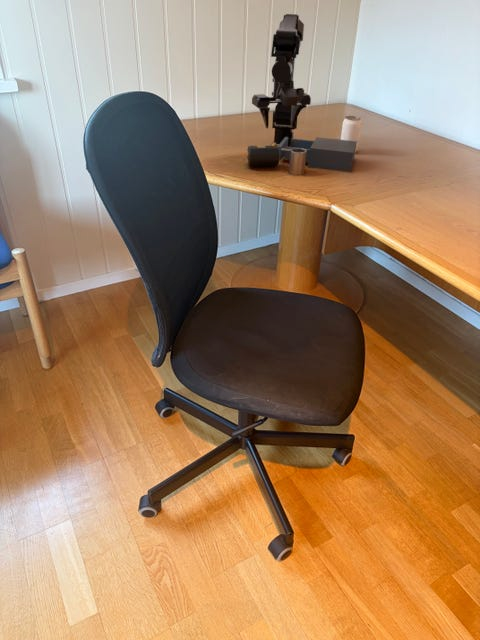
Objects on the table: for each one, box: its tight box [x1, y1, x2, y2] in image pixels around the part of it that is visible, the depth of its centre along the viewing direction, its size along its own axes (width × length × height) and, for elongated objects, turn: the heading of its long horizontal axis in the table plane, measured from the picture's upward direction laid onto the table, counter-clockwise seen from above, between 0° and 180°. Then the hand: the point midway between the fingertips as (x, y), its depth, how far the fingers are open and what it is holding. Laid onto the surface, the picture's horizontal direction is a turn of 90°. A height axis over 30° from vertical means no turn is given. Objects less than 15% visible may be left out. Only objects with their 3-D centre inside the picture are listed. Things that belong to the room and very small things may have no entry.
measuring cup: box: [281, 148, 307, 176], centre depth 162 cm, size 8×5×7 cm, turn 74°
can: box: [340, 115, 362, 153], centre depth 181 cm, size 6×6×12 cm
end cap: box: [246, 145, 280, 169], centre depth 165 cm, size 10×7×7 cm
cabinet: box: [307, 136, 357, 173], centre depth 171 cm, size 14×14×6 cm
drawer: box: [271, 137, 315, 163], centre depth 173 cm, size 17×13×5 cm
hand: (279, 127), depth 164 cm, fingers open, 9 cm apart
